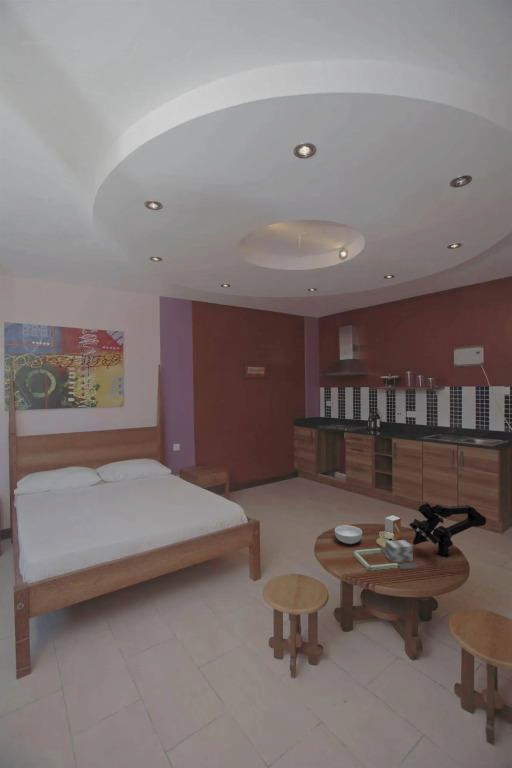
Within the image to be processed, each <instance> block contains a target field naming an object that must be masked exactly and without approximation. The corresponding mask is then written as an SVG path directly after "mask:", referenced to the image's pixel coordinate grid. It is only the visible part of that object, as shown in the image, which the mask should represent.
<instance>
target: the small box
mask: <svg viewBox="0 0 512 768" xmlns="http://www.w3.org/2000/svg"><path fill="white" fill-rule="evenodd" d="M401 523H402V520H401V517H398V516H396V515H393V514H392V515H390V516H389V515H388V516H387V517H385V518H384V533H385V532H390V533H393V534H394V537H395V539H396V540H400V539H402V537H401V536H402V535H401V533H402V530H401V529H402V528H401V527H402V524H401ZM396 540H395V541H396Z"/></svg>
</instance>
